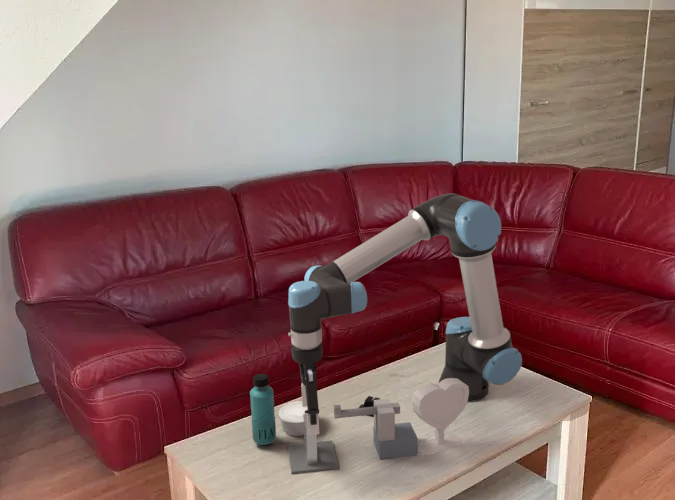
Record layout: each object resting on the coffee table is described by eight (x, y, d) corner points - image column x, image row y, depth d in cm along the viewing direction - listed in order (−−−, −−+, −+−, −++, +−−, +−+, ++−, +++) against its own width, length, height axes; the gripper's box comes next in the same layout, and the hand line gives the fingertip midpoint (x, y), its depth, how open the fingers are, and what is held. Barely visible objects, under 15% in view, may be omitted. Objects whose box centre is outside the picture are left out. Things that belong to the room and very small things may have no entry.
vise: (409, 438, 182) (410, 391, 178) (417, 455, 174) (418, 406, 170) (333, 446, 179) (332, 399, 175) (337, 464, 171) (336, 415, 167)
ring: (313, 446, 178) (312, 413, 175) (317, 464, 171) (316, 429, 168) (304, 447, 178) (303, 414, 175) (307, 465, 170) (306, 430, 167)
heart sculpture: (420, 457, 173) (421, 395, 168) (409, 447, 178) (410, 386, 172) (468, 441, 180) (471, 381, 175) (457, 432, 184) (459, 373, 179)
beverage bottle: (256, 452, 177) (252, 384, 171) (249, 439, 183) (245, 373, 177) (280, 446, 180) (276, 379, 174) (272, 433, 185) (268, 368, 179)
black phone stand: (396, 411, 196) (396, 397, 195) (387, 424, 190) (387, 409, 189) (357, 403, 201) (357, 389, 200) (347, 415, 195) (347, 401, 194)
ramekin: (283, 441, 182) (282, 424, 180) (276, 420, 192) (275, 404, 191) (323, 435, 185) (323, 418, 183) (314, 414, 195) (313, 398, 193)
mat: (332, 442, 181) (332, 440, 181) (338, 468, 170) (338, 466, 169) (287, 446, 179) (287, 444, 179) (291, 474, 168) (291, 471, 168)
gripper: (287, 324, 176) (291, 396, 182) (296, 368, 152) (300, 448, 159) (315, 322, 177) (319, 393, 183) (328, 364, 153) (332, 445, 160)
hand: (310, 419), depth 171 cm, fingers open, 13 cm apart
